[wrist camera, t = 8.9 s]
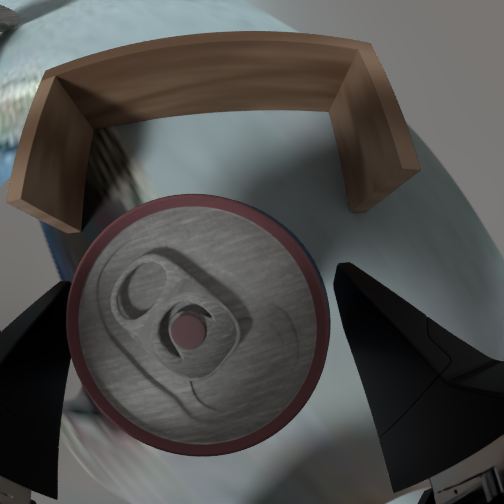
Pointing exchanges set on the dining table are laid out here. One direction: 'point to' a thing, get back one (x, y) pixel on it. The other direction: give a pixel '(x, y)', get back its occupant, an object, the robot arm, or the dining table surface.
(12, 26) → the disc
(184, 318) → the soda can
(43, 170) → the wooden u-shaped frame
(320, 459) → the dining table surface
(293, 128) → the dining table surface
